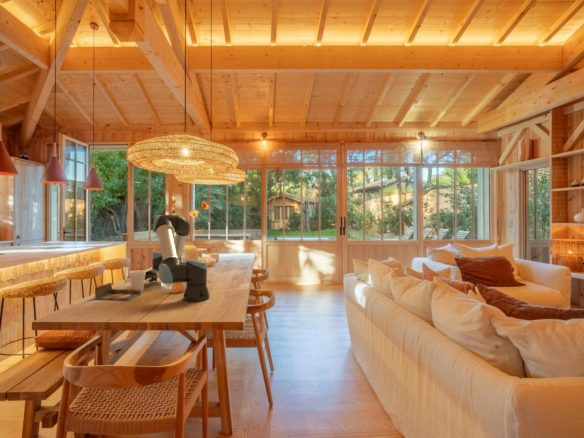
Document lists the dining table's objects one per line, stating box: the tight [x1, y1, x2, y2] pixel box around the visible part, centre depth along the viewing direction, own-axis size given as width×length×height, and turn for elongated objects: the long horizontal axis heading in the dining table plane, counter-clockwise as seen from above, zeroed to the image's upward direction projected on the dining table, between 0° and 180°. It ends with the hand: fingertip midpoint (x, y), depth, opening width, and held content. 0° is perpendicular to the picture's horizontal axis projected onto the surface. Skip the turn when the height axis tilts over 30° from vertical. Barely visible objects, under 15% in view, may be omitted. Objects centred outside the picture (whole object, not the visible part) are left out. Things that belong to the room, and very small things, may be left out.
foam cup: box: [129, 269, 147, 293], centre depth 215 cm, size 10×9×13 cm
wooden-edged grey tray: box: [94, 282, 142, 302], centre depth 199 cm, size 20×14×7 cm
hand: (135, 281), depth 213 cm, fingers open, 13 cm apart
